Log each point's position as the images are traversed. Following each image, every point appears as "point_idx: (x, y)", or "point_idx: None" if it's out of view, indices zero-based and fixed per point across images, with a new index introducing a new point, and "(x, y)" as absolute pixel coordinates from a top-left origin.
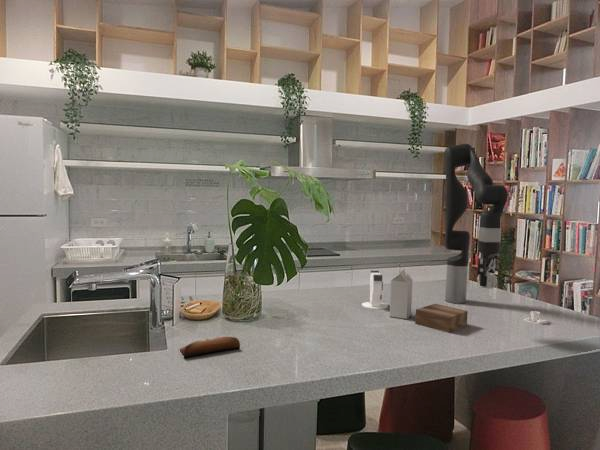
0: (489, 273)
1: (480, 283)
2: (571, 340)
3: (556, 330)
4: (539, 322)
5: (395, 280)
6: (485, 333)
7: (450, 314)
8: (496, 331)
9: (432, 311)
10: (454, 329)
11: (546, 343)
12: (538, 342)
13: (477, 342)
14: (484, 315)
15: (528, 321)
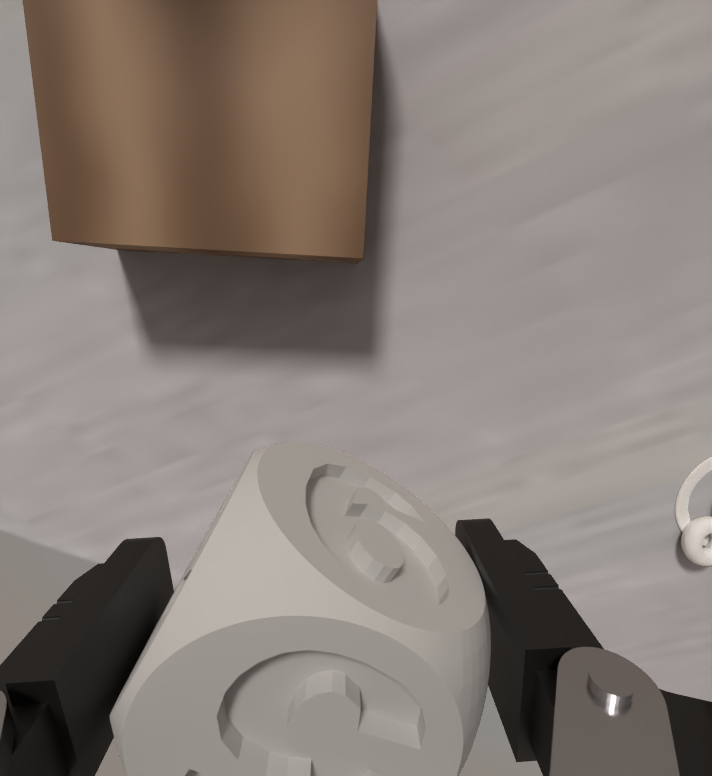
0: (368, 768)
1: (76, 582)
2: None
3: (607, 612)
4: (684, 535)
5: None
6: (288, 406)
7: (145, 203)
8: (372, 432)
9: (91, 26)
10: (191, 253)
11: None
12: None
13: (105, 438)
14: (669, 248)
15: (688, 482)
